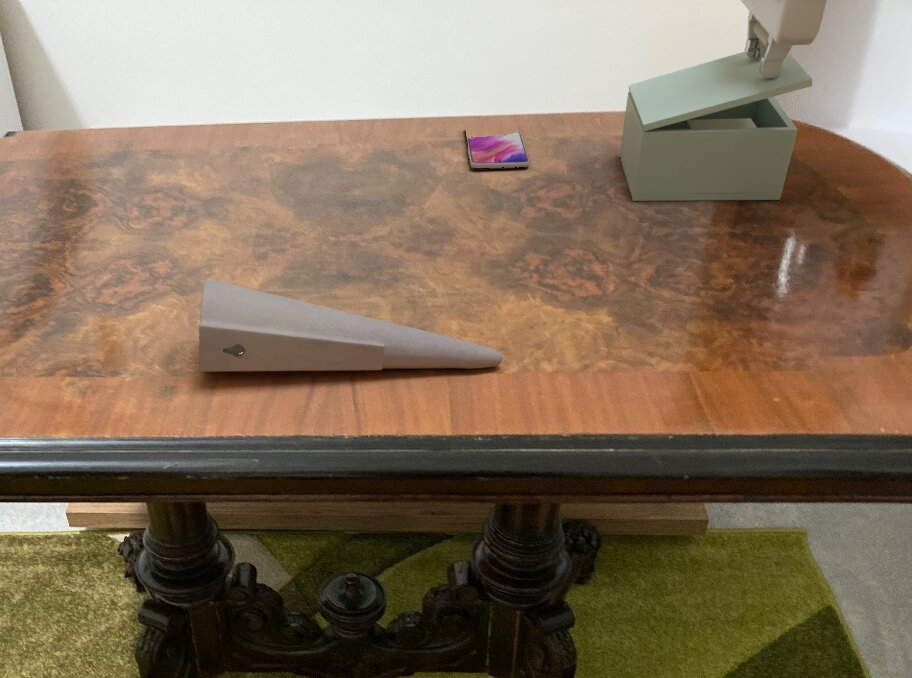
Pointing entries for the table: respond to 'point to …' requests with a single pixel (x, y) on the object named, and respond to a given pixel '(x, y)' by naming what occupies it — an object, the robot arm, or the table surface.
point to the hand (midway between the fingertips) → (760, 65)
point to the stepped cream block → (719, 123)
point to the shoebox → (709, 156)
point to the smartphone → (498, 151)
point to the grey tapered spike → (316, 337)
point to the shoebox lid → (713, 87)
